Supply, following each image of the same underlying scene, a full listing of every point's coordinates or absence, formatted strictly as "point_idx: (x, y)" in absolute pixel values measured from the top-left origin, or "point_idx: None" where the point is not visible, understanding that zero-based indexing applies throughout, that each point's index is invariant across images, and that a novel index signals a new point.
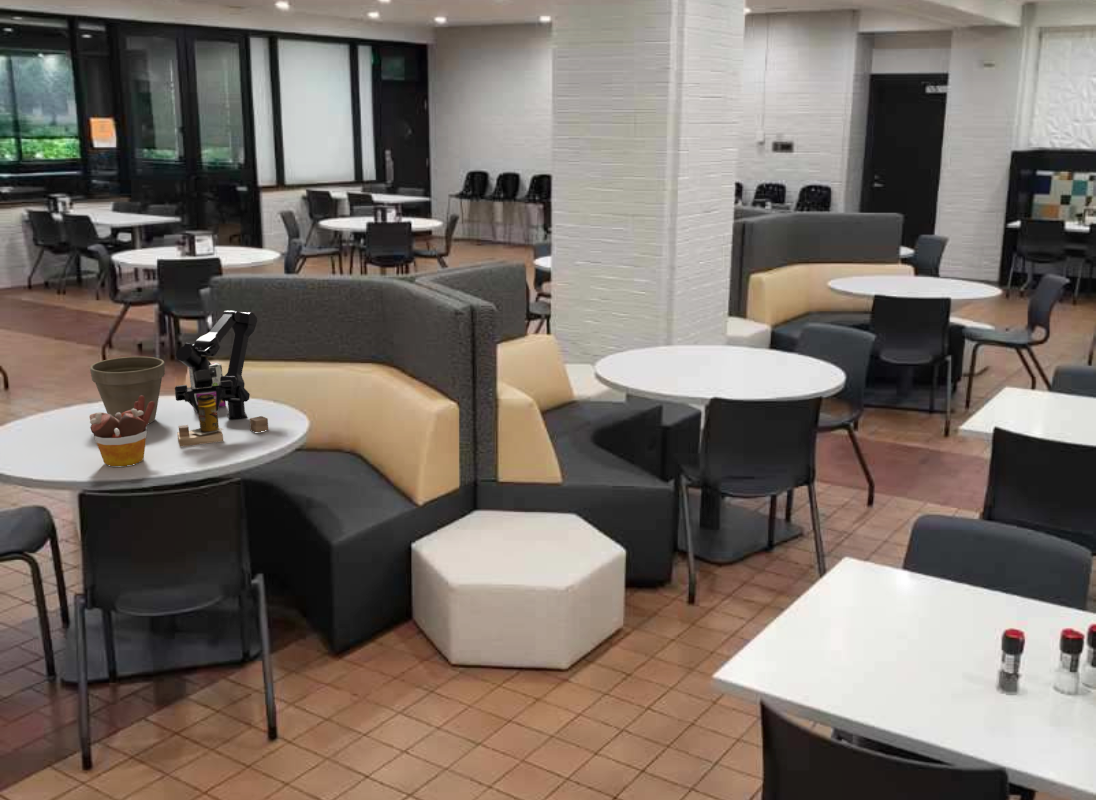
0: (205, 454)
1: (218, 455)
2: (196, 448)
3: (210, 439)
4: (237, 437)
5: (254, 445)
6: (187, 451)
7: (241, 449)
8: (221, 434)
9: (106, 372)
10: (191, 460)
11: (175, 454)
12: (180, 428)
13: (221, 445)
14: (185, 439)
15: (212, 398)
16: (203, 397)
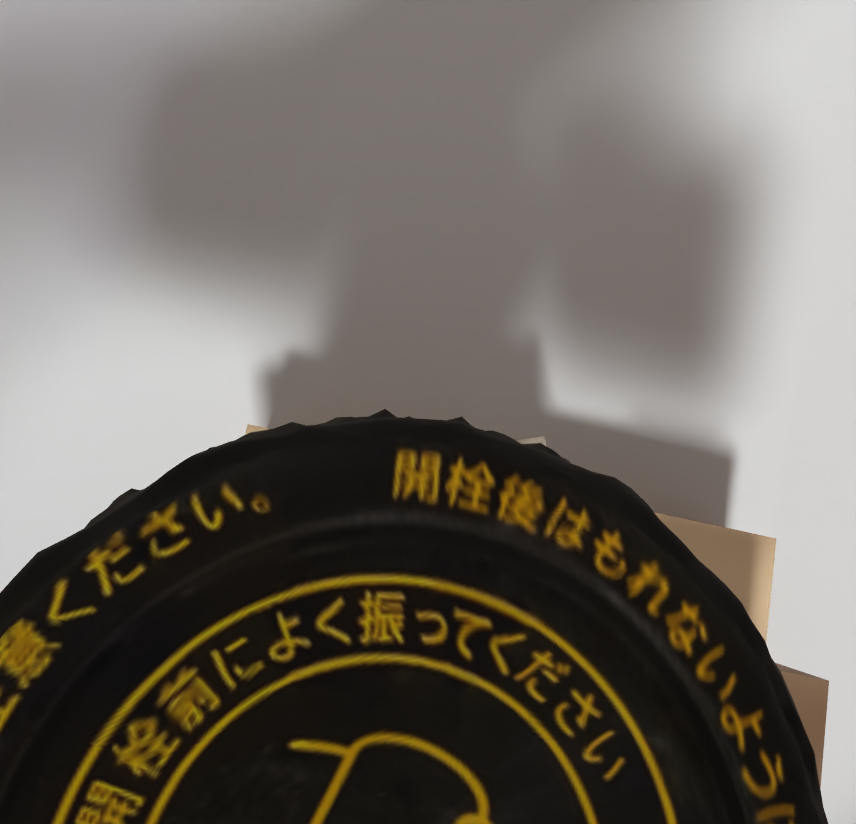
0: (566, 110)
1: (472, 8)
2: (589, 358)
3: None
4: (63, 497)
5: (52, 84)
6: (690, 312)
7: (221, 43)
8: (264, 429)
9: None
10: (717, 24)
11: (809, 288)
12: (803, 676)
13: (337, 299)
14: (696, 524)
15: (123, 503)
16: (567, 736)
